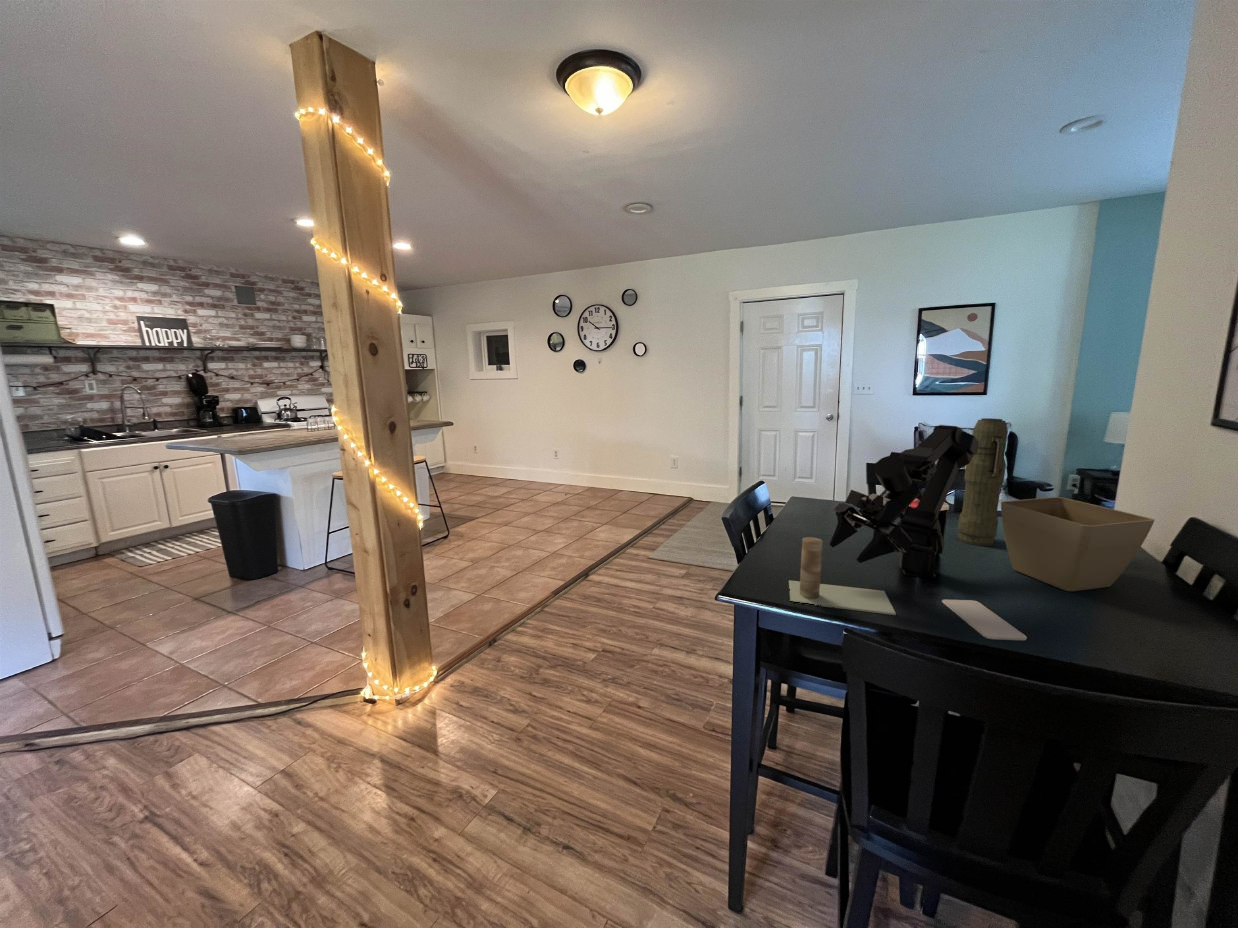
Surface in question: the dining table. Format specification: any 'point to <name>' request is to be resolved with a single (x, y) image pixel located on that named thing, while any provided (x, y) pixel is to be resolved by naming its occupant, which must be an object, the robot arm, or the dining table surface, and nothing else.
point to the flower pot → (1071, 541)
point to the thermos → (983, 484)
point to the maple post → (810, 567)
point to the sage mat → (845, 598)
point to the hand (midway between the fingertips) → (843, 553)
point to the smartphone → (984, 620)
